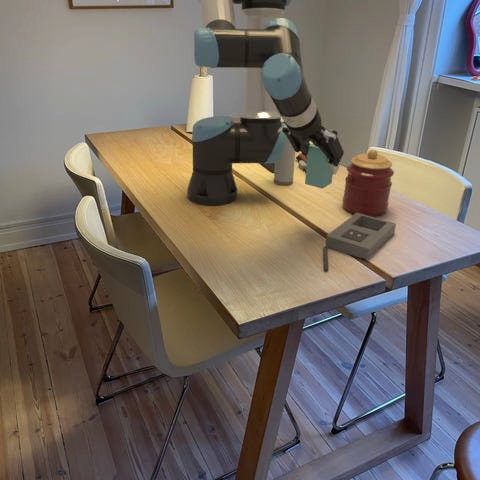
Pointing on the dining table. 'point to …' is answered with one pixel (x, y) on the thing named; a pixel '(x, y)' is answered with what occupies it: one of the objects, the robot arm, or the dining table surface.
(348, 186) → the canister
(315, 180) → the charger block
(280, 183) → the travel mug
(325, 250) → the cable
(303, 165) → the walkie-talkie
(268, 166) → the phone
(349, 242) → the grey flat block
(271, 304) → the dining table surface
